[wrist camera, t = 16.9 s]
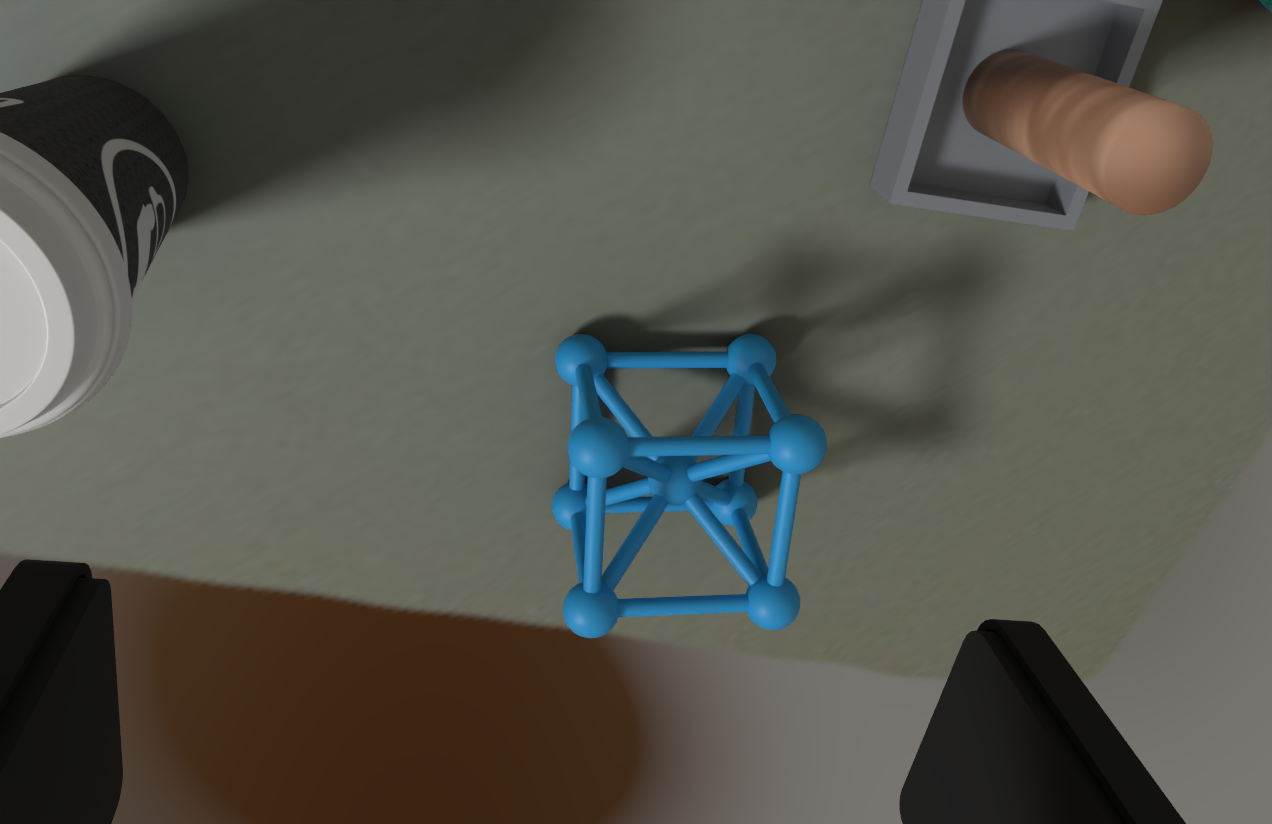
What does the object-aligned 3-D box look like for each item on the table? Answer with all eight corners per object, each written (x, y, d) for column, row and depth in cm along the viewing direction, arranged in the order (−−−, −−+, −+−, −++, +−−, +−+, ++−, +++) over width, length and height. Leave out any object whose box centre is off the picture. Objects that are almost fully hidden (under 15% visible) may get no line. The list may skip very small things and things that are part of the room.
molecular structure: (772, 325, 47) (838, 432, 38) (748, 508, 51) (803, 640, 43) (553, 325, 45) (570, 436, 37) (549, 513, 50) (564, 651, 41)
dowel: (978, 42, 41) (1132, 97, 31) (1056, 56, 42) (1230, 114, 32) (951, 129, 43) (1090, 208, 33) (1026, 141, 43) (1184, 221, 34)
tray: (937, -51, 40) (963, -46, 38) (1128, -12, 42) (1164, -5, 39) (869, 186, 44) (889, 203, 42) (1045, 213, 46) (1073, 231, 44)
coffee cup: (156, -2, 37) (-21, 74, 24) (270, 239, 42) (173, 412, 29) (-93, 75, 37) (-405, 192, 24) (48, 307, 42) (-149, 510, 29)
